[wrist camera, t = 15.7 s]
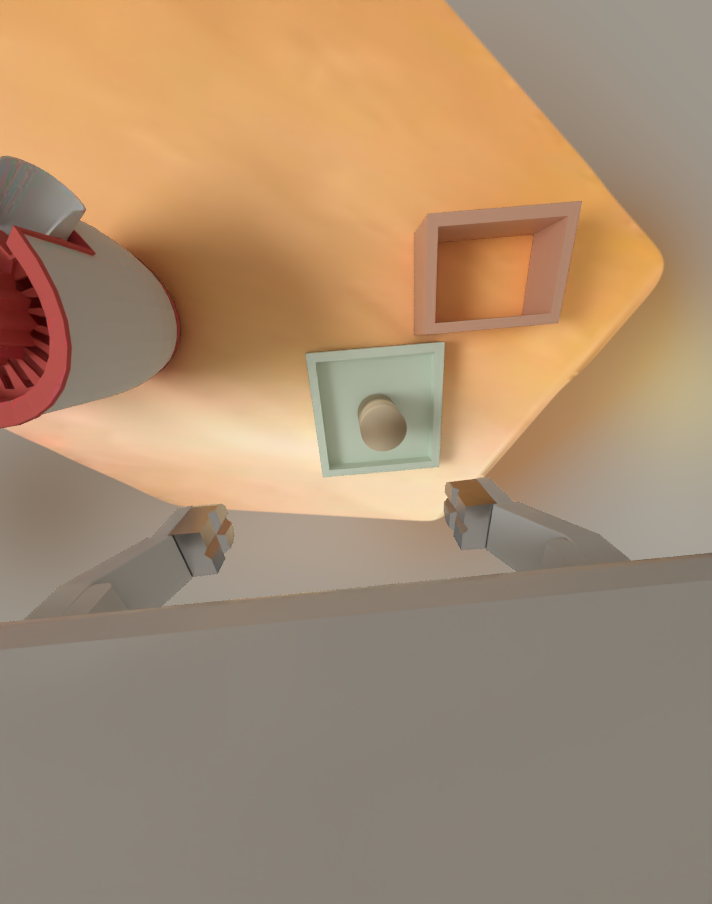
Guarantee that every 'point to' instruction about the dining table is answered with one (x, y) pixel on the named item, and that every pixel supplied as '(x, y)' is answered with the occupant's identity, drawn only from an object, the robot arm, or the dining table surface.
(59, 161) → the dining table surface
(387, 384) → the tray
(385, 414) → the beech cylinder
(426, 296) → the open square frame
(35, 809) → the robot arm
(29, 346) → the citrus juicer
